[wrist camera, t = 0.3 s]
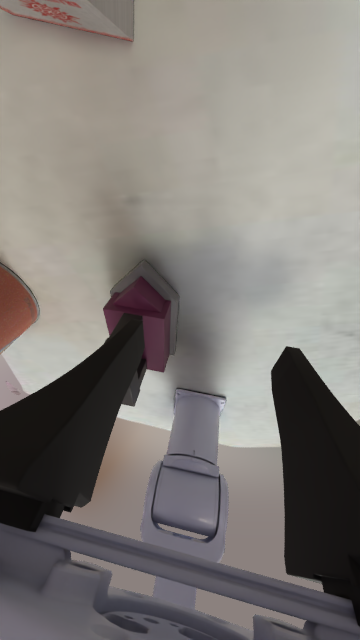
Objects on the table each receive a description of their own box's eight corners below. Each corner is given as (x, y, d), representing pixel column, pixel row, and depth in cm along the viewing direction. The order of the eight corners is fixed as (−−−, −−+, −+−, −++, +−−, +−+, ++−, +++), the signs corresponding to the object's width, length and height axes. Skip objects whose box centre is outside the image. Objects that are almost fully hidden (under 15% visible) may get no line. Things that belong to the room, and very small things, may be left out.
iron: (175, 348, 27) (158, 415, 21) (124, 339, 28) (92, 401, 22) (181, 264, 19) (155, 331, 13) (108, 254, 20) (49, 313, 13)
